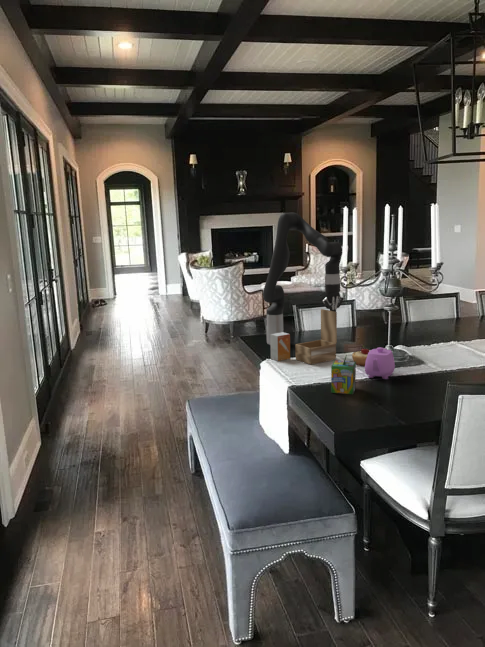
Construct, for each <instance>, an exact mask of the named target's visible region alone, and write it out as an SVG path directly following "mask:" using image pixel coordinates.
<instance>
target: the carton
mask: <svg viewBox="0 0 485 647" xmlns="http://www.w3.org/2000/svg"><path fill="white" fill-rule="evenodd" d="M294 348H295V351H294V352H295V354H294V355H295V361H298V362H301V363H303V362H304V364H307V365H315V364H321V363H326V362H330V361H334V360H335V359H337V343H332V342H328V341H325V340H321V339H317V340H312V341H311V340H310V341H306V342H300V343H295V346H294Z"/></svg>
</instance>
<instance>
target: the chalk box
mask: <svg viewBox="0 0 485 647" xmlns="http://www.w3.org/2000/svg"><path fill="white" fill-rule="evenodd" d="M346 359H347V354H345V357H344V360H341V359H340V360H333V362H332V364H331V370H330V371H331V373H330V374H331V376H330V378H331V379H330V380H331V382H330V386H331V387H330V393H331V394H342V395H346V394H347V395H354V393H355V390H356V379H357V378H356V377H357V376H356V373H357V369H356V368H357V367H356V366H357V365H356V361H353V360H346Z"/></svg>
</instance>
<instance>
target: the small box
mask: <svg viewBox="0 0 485 647" xmlns="http://www.w3.org/2000/svg"><path fill="white" fill-rule="evenodd" d="M269 346H270V360H272V361H276V362H281V361H285V360H290V359H291V334H290V333H287V332H284V331H283V332H281V333H275V334H270V345H269Z"/></svg>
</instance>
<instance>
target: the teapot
mask: <svg viewBox="0 0 485 647" xmlns="http://www.w3.org/2000/svg"><path fill="white" fill-rule="evenodd" d="M395 364H396V363H395V359H394V354H393V351H392V350H391V349H388V348H386V347H385V348H384V347H383V346H382V347H380V346H379V347H376V348H373V349H369V353H368V355H367V358H366V362H365V366H364V372H365V374H366V375H367V377H368V378H370V379H372V378H373V379H374V377H381V378H382V379H383V380H389V377H390V376H391V375H393V373H394V372H395V368H396V365H395Z"/></svg>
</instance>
